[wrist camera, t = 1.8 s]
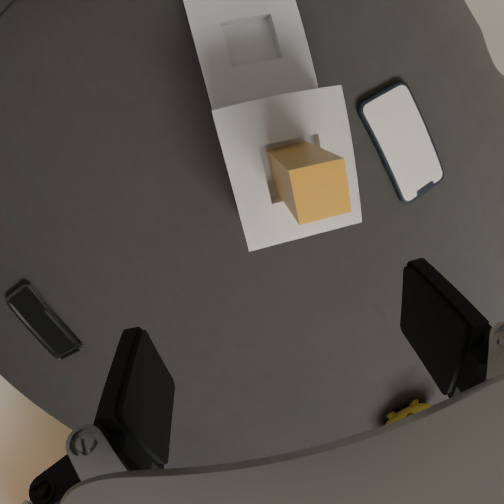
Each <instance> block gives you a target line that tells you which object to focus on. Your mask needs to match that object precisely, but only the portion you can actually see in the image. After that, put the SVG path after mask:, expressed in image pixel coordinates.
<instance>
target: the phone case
mask: <svg viewBox="0 0 504 504" xmlns="http://www.w3.org/2000/svg"><path fill="white" fill-rule="evenodd" d="M357 113H358V115H359V117H360V119H361V120H362V122H363V124H364V126H365V128H366V130H367V132H368V134H369V136H370V138H371V140H372V142H373V144H374V146H375V148H376V150H377V152H378V154H379V156H380V158H381V160H382V163H383V165H384V167H385V170H386V172H387V174H388V176H389V178H390V180H391V182H392V184H393V187H394V189H395V191H396V194H397V196H398V198H399V200H400V201H402V202H404V203H406V204H408V203H411V202H412V201H414V200H415V199H417V198H418V197H420V196H421V195H422V194H424V193H425V192H427V191H428V190H429V189H431V188H432V187H434V186H435V185H436V184H438V183H439V182H441V181H442V179H443V177H444V171H443V168H442V165H441V162H440V160H439V157H438V154H437V152H436V149H435V146H434V144H433V141H432V139H431V136H430V134H429V131H428V129H427V126H426V124H425V122H424V119H423V117H422V115H421V113H420V110H419V108H418V106H417V104H416V102H415V99H414V97H413V95H412V93H411V91H410V89H409V87H408V85H407V84H406V83H404V82H395V83H393V84H391V85H389V86H387V87H385V88H384V89H382V90H380V91H378V92H376V93H375V94H373V95H371V96H369V97H367V98H366V99H364V100H362V101H361V102H359V104H358V106H357Z"/></svg>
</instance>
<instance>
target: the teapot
mask: <svg viewBox="0 0 504 504" xmlns="http://www.w3.org/2000/svg"><path fill="white" fill-rule="evenodd" d="M409 405H410V406H408V407H406V408H404V409H402V410H401V411H399V412H398V413H396V411H392V412H390V413H388V414H387V416H386V417H387V418H388V419H389V420H388V421H387V422H386V424H389V423H392V422H394V421H397V420H400V419H402V418H405V417H407V416H410V415H412V414H415V413H417V412H419V411H422V410H424V409H426V408H429V407H431V406H432V405H429V404H425V403H419V399H415V400H413V401H412V402H411V403H410V404H409ZM386 424H385V425H386Z"/></svg>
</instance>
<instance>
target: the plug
mask: <svg viewBox="0 0 504 504" xmlns="http://www.w3.org/2000/svg"><path fill="white" fill-rule="evenodd" d="M266 153H267V157H268V161H269V166H270V170H271V174H272V179H273V183H274V188H275V190H276V191H277V193H278V194H279V196H280V197H281V198H282V200H283V201H284V203H285V204H286V206H287V207H288V209H289V210H290V212H291V213H292V215H293V216H294V218H295V219H296V221H297V222H298V224H299V225H301V224H305V223H309V222H313V221H317V220H321V219H325V218H329V217H333V216H337V215H341V214H345V213H349V212H352V211H351V203H350V195H349V187H348V180H347V173H346V166H345V160H344V158H342V157H340V156H338V155H336V154H334V153H332V152H329V151H327V150H325V149H323V148H320V147H318V146H316V145H313V144H311V143H309V142H306V141H304V142H299V143H295V144H290V145H286V146H281V147H277V148H272V149H268V150H266Z"/></svg>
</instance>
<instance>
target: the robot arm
mask: <svg viewBox="0 0 504 504" xmlns="http://www.w3.org/2000/svg"><path fill="white" fill-rule="evenodd" d="M488 323H489V321H488V320H487V319H486V318H485V317H484V316H483V315H482V314H481V313H480V312H479V311H478V310H477V309H476V308H475V307H474V306H473V305H472V304H471V303H470V302H469V301H468V300H467V299H466V298H465V297H464V296H463V295H462V294H461V293H460V292H459V291H458V290H457V289H456V288H455V287H454V286H453V285H452V284H451V283H450V282H449V281H448V280H447V279H446V278H444V277H443V276H442V275H441V274H440V273H439V272H438V271H437V270H436V269H435V268H434V267H433V266H432V265H430V264H429V263H428V262H427V261H426V260H425V259H424V258H419V259H416V260H412V261H409V262H408V263H407V266H406V267H404V270H403V291H402V308H401V321H400V326H401V330H402V332H403V334H404V335H405V337H406V338H407V340H408V341H409V343H410V344H411V346H412V347H413V349H414V350H415V352H416V353H417V355H418V356H419V358H420V359H421V361H422V362H423V364H424V366H425V367H426V369H427V370H428V372H429V373H430V375H431V376H432V378H433V380H434V381H435V383H436V384H437V386H438V387H439V389H440V391H441V392H442V394H444V395H446V394H447V395H448V397H449V399H447V400H444V401H442V402H440V403H438V404H435V405H433V406H431V407H429V408H426V409H424V410H422V411H419V412H417V413H415V414H412V415H410V416H407V417H405V418H402V419H400V420H397V421H394V422H392V423H389V424H386V425H383V426H381V427H378V428H375V429H372V430H369V431H366V432H363V433H360V434H357V435H354V436H350V437H347V438H344V439H340V440H337V441H333V442H330V443H326V444H322V445H319V446H315V447H311V448H307V449H302V450H298V451H294V452H289V453H284V454H280V455H274V456H269V457H264V458H258V459H252V460H246V461H240V462H233V463H225V464H217V465H208V466H197V467H185V468H172V469H164V464H167V462H168V456H169V443H170V432H171V421H172V411H173V401H174V391H175V384H174V381H173V378H172V377H171V375H170V373H169V371H168V370H167V368H166V366H165V364H164V363H163V361H162V359H161V357H160V355H159V354H158V352H157V350H156V348H155V346H154V344H153V342H152V341H151V339H150V337H149V335H148V333H147V331H146V330H142V329H141V328H140V327H135V328H130V329H125V330H124V331H123V333H122V336H121V338H120V341H119V344H118V347H117V350H116V353H115V356H114V359H113V362H112V365H111V368H110V371H109V374H108V377H107V380H106V383H105V387H104V390H103V393H102V396H101V400H100V403H99V407H98V410H97V413H96V417H95V421H94V424H93V425H91V424H85V425H81V426H79V427H77V428H76V429H75V430H73V431H72V432H71V434H70V435H69V437H68V439H67V441H66V451H67V455H65V456H64V457H63V458H62V459H60V460H59V461H58V462H56V463H55V464H54V465H53V466H51V467H50V468H48V469H47V470H46V471H44V472H43V473H41V474H40V475H39V476H37V477H36V478H35V479H34V480H33V482H32V483H31V485H30V489H29V497H30V501H29V502H28V501H27V500H25V501H24V502H23V504H504V322H500V323H497V324H496V325H494V326H493V327H491V326H490V325H489V324H488Z"/></svg>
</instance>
